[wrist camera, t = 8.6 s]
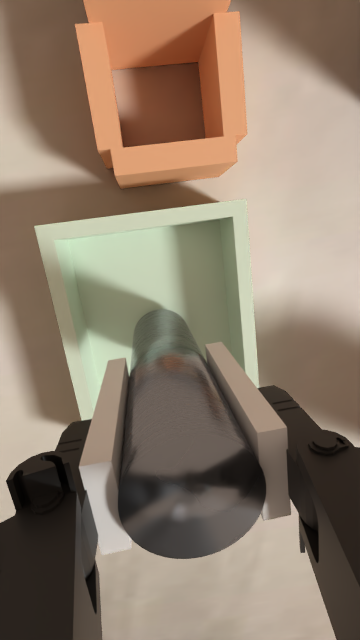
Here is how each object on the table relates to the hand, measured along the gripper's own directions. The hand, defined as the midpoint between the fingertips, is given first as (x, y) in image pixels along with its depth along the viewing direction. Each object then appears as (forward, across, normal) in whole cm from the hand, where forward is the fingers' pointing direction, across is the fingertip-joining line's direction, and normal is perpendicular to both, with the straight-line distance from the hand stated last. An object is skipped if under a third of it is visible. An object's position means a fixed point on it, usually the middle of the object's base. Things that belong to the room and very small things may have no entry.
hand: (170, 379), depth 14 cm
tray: (+8, 0, 0) cm, 8 cm away
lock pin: (+6, 0, 0) cm, 6 cm away
